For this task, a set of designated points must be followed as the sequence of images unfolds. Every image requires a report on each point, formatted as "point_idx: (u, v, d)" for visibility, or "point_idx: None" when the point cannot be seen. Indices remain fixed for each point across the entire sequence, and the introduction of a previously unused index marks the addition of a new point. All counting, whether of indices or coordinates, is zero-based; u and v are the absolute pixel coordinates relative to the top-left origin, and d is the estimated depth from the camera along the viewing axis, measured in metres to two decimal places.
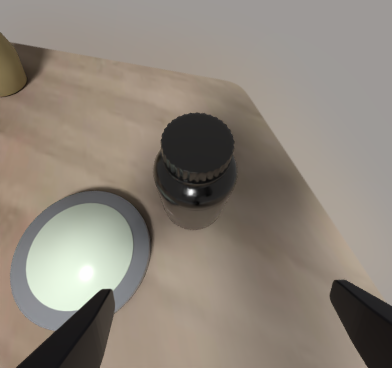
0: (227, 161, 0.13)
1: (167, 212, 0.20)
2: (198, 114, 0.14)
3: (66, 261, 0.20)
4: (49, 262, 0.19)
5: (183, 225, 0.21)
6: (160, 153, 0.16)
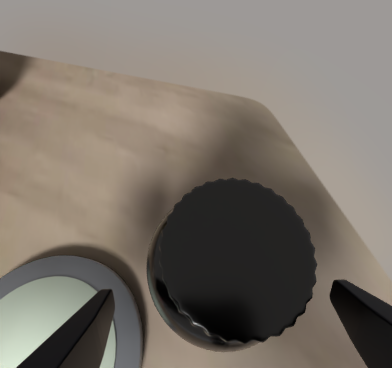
0: (306, 301, 0.06)
1: None
2: (235, 182, 0.07)
3: None
4: None
5: None
6: (159, 236, 0.09)
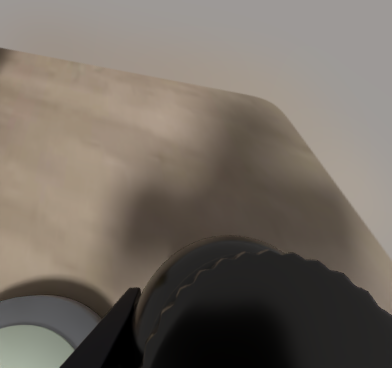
0: None
1: None
2: (276, 261, 0.04)
3: None
4: None
5: None
6: (143, 318, 0.06)
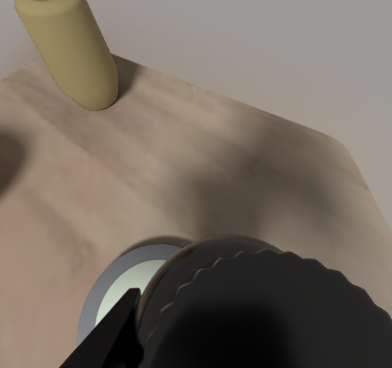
0: None
1: None
2: (274, 260, 0.04)
3: None
4: None
5: None
6: (144, 316, 0.06)
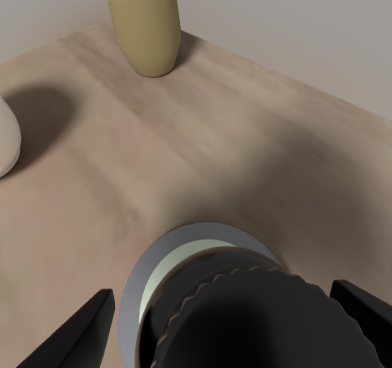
0: None
1: None
2: (263, 277, 0.05)
3: None
4: None
5: None
6: (151, 322, 0.07)
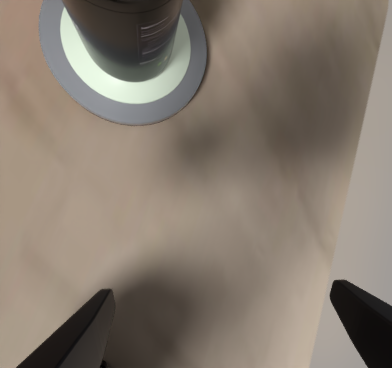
0: None
1: (76, 30, 0.13)
2: None
3: None
4: None
5: (102, 63, 0.14)
6: None
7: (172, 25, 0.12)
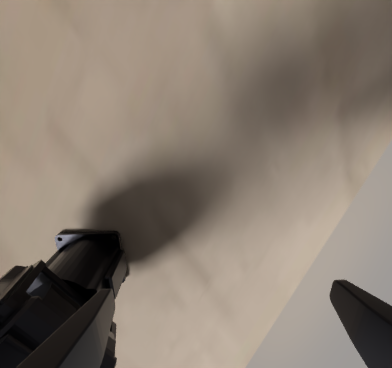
0: None
1: None
2: None
3: None
4: None
5: None
6: None
7: None
